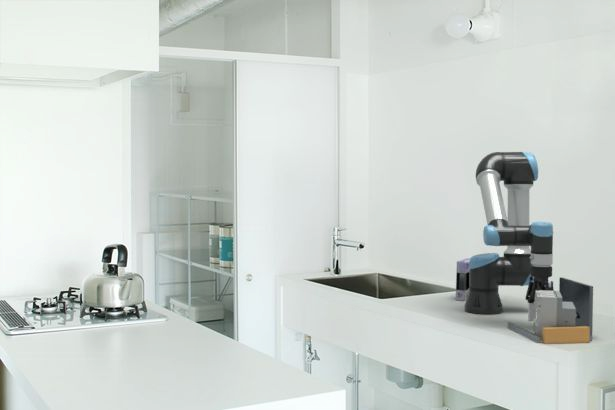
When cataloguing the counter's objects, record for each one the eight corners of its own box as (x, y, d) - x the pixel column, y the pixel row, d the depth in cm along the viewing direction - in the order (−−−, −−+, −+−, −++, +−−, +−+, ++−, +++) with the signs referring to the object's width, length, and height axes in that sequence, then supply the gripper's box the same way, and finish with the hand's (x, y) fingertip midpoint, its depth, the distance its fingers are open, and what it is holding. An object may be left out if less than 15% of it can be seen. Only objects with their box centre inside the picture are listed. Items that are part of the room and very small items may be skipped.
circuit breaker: (579, 341, 259) (581, 298, 256) (535, 339, 262) (537, 296, 259) (576, 333, 266) (578, 291, 263) (533, 331, 269) (534, 290, 266)
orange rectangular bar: (542, 342, 257) (542, 327, 256) (586, 341, 259) (586, 326, 259) (545, 343, 255) (545, 328, 254) (589, 342, 257) (589, 327, 257)
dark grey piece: (507, 327, 281) (508, 278, 280) (561, 326, 284) (562, 277, 283) (537, 342, 256) (538, 288, 255) (596, 340, 259) (597, 287, 258)
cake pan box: (464, 301, 337) (465, 261, 336) (453, 300, 339) (454, 260, 338) (480, 295, 353) (480, 257, 352) (470, 294, 355) (470, 256, 355)
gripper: (516, 261, 287) (516, 318, 288) (547, 270, 262) (546, 332, 263) (535, 261, 288) (535, 317, 289) (568, 269, 263) (566, 331, 264)
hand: (540, 324), depth 276 cm, fingers open, 13 cm apart
